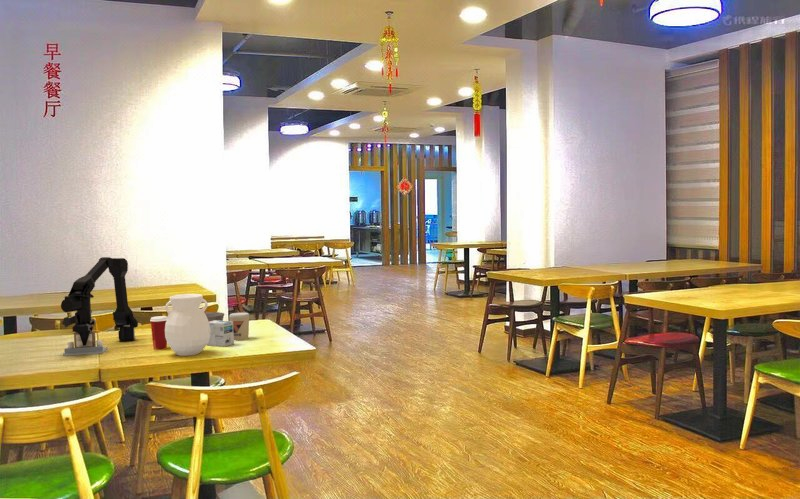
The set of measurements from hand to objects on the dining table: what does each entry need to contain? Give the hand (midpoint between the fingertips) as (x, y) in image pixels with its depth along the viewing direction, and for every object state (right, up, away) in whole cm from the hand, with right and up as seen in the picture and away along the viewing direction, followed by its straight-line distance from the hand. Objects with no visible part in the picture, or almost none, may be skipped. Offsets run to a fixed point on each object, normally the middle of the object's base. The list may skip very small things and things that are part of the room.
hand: (85, 344), depth 297 cm
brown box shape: (0, -2, 0) cm, 2 cm away
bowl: (+40, -1, +41) cm, 58 cm away
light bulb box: (+56, -2, +11) cm, 57 cm away
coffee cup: (+62, -1, +25) cm, 67 cm away
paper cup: (+31, -3, +6) cm, 31 cm away
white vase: (+47, -3, -7) cm, 48 cm away
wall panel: (0, -3, +1) cm, 3 cm away
